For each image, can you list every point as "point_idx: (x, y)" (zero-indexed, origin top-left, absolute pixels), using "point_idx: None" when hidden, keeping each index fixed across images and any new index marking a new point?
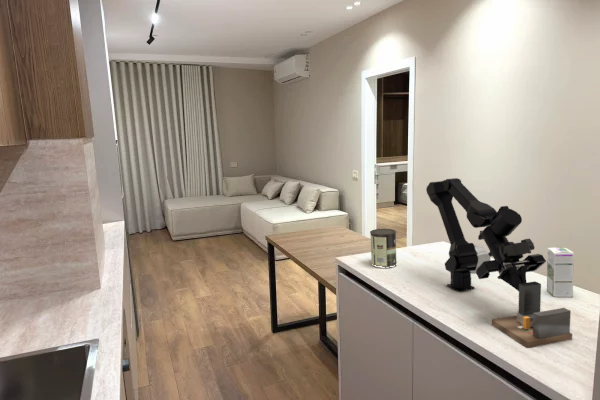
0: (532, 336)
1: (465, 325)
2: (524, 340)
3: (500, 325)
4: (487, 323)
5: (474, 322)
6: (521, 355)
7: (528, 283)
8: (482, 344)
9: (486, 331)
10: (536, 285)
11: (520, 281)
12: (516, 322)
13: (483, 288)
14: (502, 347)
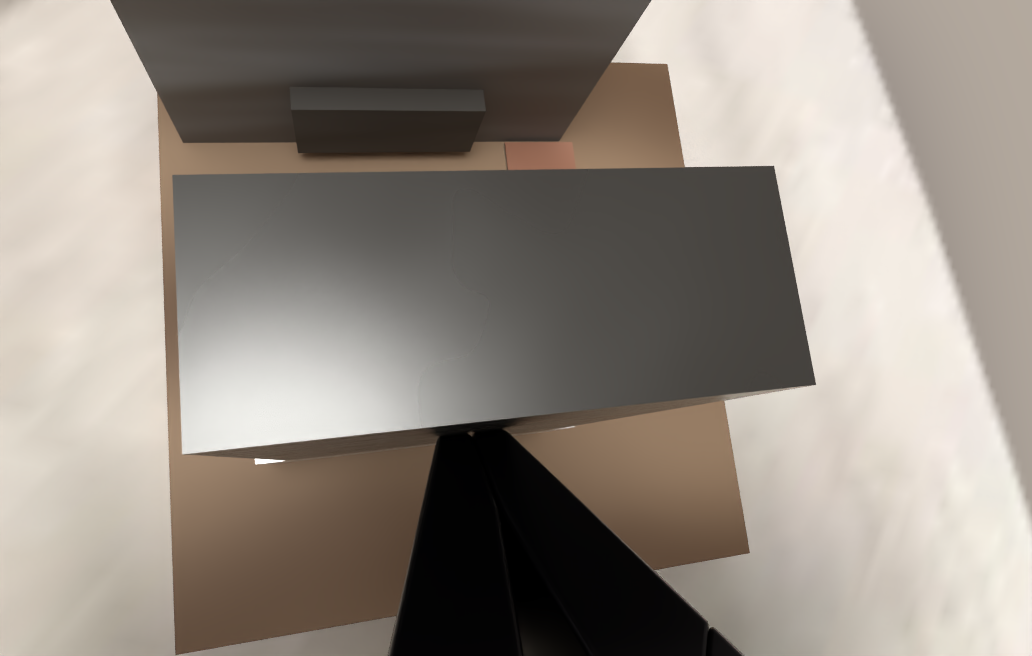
0: (570, 129)
1: (935, 579)
2: (670, 100)
3: (722, 409)
4: (740, 581)
5: (843, 628)
6: (739, 26)
7: (543, 336)
8: (919, 236)
9: (814, 424)
10: (372, 178)
11: (622, 645)
12: None
13: None
14: (808, 156)
